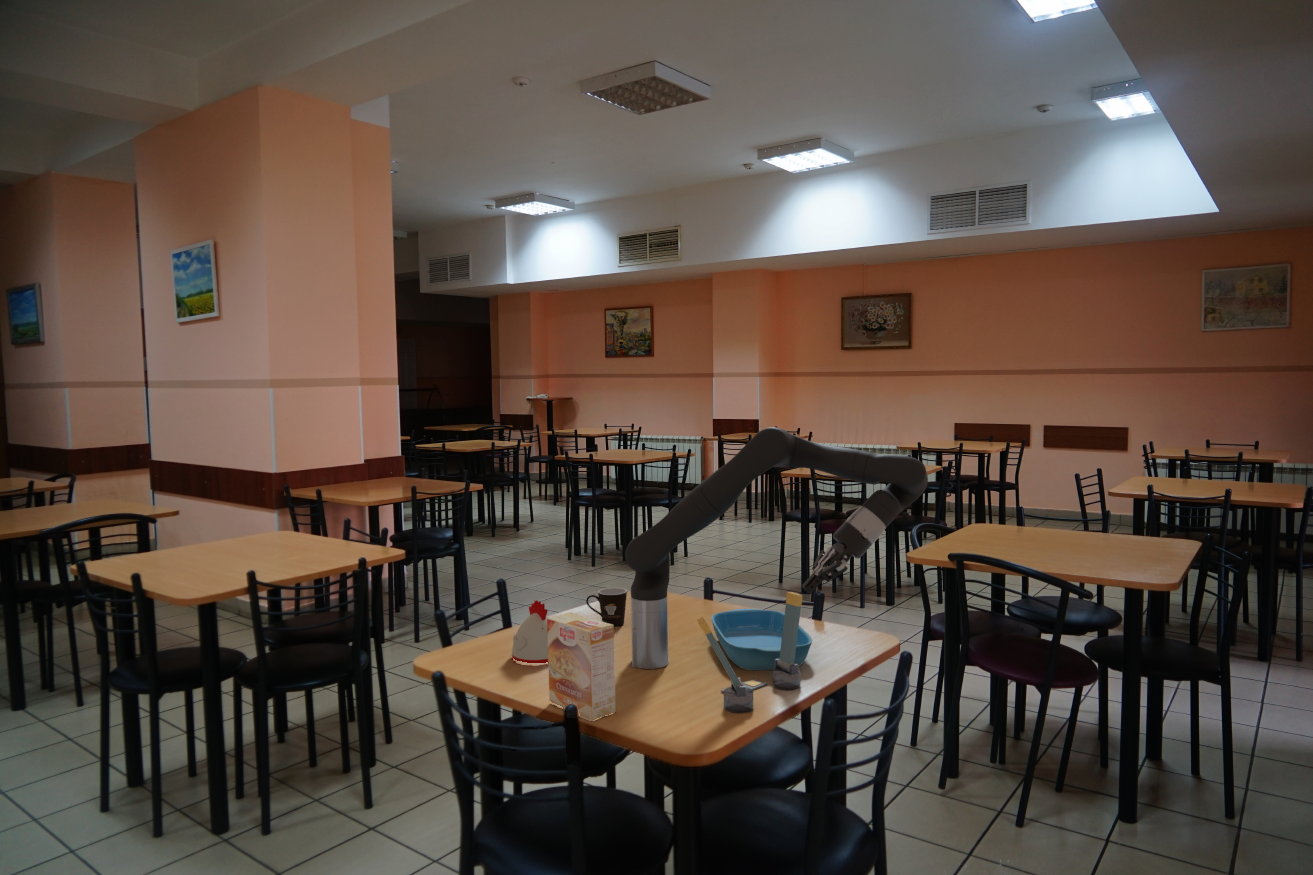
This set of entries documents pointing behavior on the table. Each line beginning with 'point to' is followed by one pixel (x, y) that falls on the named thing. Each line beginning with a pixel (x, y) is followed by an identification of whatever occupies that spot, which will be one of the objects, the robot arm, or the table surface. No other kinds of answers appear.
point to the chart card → (752, 684)
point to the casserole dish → (756, 637)
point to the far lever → (790, 630)
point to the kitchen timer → (532, 636)
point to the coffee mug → (611, 605)
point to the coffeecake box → (581, 664)
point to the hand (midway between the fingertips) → (805, 589)
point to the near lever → (719, 653)
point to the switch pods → (743, 695)
